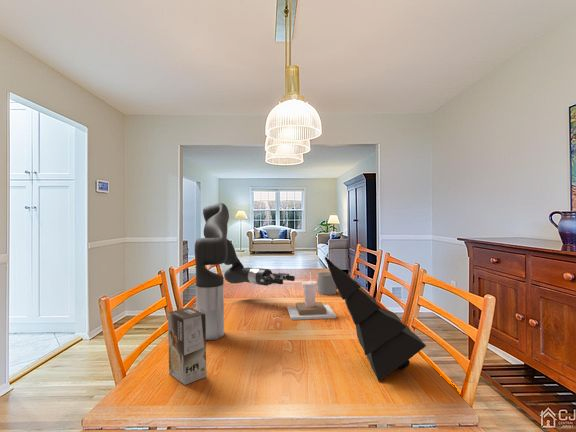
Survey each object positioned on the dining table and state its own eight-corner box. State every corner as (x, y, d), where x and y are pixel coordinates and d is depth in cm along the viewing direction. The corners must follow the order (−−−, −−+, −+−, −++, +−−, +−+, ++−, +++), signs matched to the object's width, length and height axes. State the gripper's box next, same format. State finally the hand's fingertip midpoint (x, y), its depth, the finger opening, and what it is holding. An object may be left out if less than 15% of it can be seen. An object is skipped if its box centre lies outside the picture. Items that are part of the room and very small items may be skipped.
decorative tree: (374, 368, 95) (302, 268, 96) (417, 338, 94) (344, 238, 95) (388, 395, 80) (302, 278, 81) (438, 360, 80) (351, 243, 81)
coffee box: (207, 376, 84) (207, 313, 84) (184, 386, 80) (183, 319, 80) (190, 365, 91) (189, 306, 91) (167, 373, 86) (166, 311, 86)
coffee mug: (318, 295, 168) (318, 275, 168) (316, 290, 178) (316, 272, 178) (344, 295, 168) (344, 275, 168) (341, 290, 178) (341, 271, 178)
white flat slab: (336, 318, 131) (336, 310, 131) (291, 319, 129) (290, 312, 129) (327, 306, 146) (327, 300, 146) (287, 308, 145) (287, 301, 145)
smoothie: (316, 308, 134) (316, 273, 134) (301, 307, 135) (300, 273, 135) (318, 304, 140) (317, 270, 140) (303, 303, 141) (302, 270, 141)
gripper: (249, 270, 148) (278, 274, 138) (269, 266, 159) (297, 269, 150) (249, 287, 148) (278, 292, 138) (269, 281, 159) (297, 285, 150)
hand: (288, 280), depth 144 cm, fingers open, 8 cm apart
